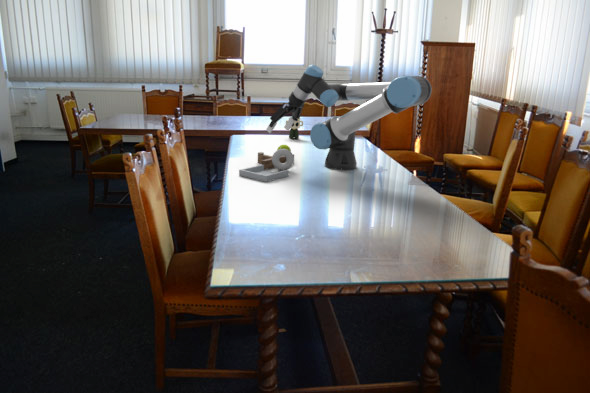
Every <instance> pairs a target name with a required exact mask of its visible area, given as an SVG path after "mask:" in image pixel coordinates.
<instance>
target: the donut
mask: <svg viewBox="0 0 590 393" xmlns="http://www.w3.org/2000/svg"><path fill="white" fill-rule="evenodd" d="M271 156H272V163H273V165H274V168H275V169H277V170H279V171H284V170H290V169H291V168H292V167H293V165H294V163H295V155H294V156H293V152H292V151H291V152H290V151H289V150H287V149H279V150H277V149H276V151H274V152H273V154H272V155H271ZM281 156H285V157H286V159H287V161H286V162H285V163H281V162H280V161H279V158H280V157H281Z"/></svg>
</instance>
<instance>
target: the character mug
mask: <svg viewBox="0 0 590 393" xmlns="http://www.w3.org/2000/svg"><path fill="white" fill-rule="evenodd" d="M290 117H291V116H290ZM290 117H288V119H287V120H285V124H286V123H287V122H288V120H289V119H290ZM297 119H298V118H297ZM303 126H304V121H303V120H301V117H300V118H299V119H298V121H294V123H293V124H292V126H291V127H290V129H289V133H288V138H289V139H290V140H291V139H295V140H296V139H299V138H300V134H299V132H300V131H299V129H301V128H300V127H303Z"/></svg>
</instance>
